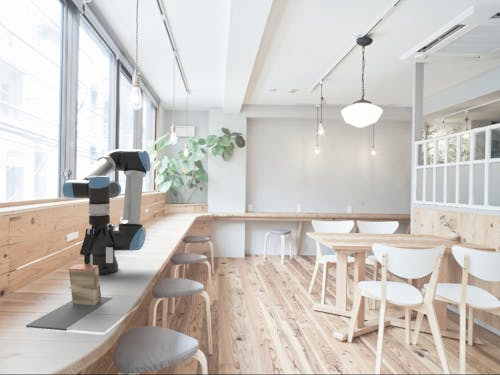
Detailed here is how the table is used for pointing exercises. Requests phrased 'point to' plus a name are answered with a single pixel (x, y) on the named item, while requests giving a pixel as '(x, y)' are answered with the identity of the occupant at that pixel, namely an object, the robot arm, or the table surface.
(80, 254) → the robot arm
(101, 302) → the mat
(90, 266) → the block
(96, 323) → the table surface
